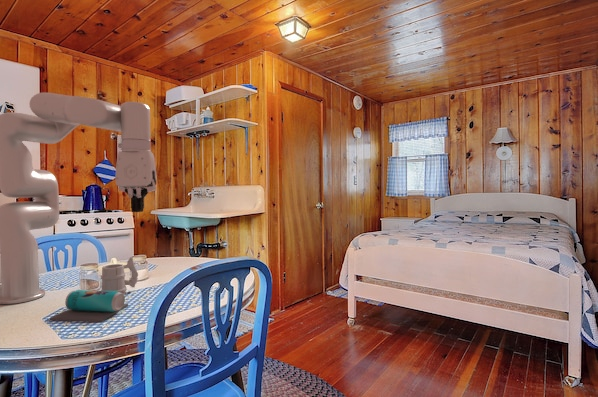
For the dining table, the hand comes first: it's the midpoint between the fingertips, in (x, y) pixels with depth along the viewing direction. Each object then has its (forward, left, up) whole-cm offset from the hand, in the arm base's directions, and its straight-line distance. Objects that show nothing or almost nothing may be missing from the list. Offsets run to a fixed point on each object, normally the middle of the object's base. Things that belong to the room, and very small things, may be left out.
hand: (137, 211), depth 97 cm
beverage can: (-5, -1, -26) cm, 26 cm away
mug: (-17, +15, -29) cm, 37 cm away
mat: (-14, -2, -29) cm, 32 cm away
